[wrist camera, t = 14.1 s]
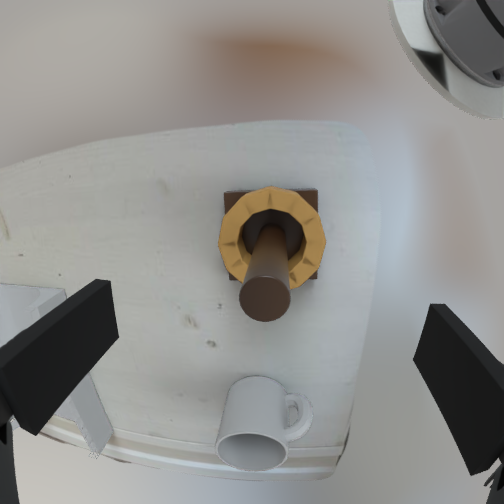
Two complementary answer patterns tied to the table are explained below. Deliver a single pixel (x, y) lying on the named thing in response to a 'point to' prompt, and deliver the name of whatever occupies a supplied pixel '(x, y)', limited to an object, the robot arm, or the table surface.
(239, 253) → the tape roll
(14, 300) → the skate ramp
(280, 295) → the stand
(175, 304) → the table surface
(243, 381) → the cup
